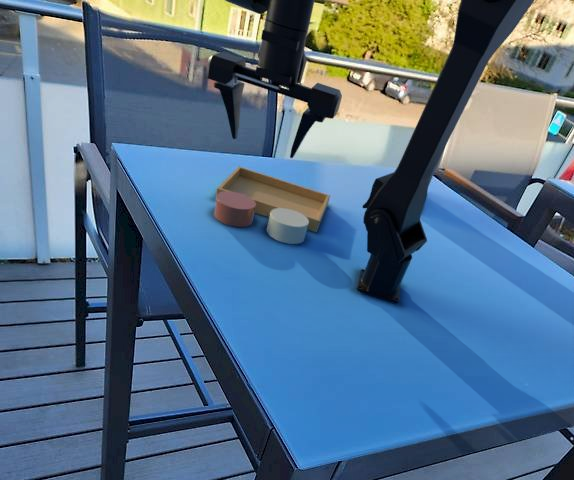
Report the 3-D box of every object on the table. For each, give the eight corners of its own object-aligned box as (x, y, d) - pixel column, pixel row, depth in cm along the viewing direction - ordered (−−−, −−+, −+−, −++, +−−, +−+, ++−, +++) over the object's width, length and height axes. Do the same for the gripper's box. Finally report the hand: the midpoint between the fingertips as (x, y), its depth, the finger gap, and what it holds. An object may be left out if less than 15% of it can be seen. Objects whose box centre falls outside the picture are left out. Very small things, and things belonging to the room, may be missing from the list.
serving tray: (316, 232, 83) (319, 221, 82) (215, 200, 84) (217, 188, 82) (327, 205, 93) (330, 195, 92) (236, 177, 93) (238, 166, 92)
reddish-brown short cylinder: (246, 231, 78) (250, 213, 76) (208, 218, 78) (211, 200, 76) (256, 216, 83) (260, 199, 81) (221, 205, 83) (223, 187, 81)
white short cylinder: (300, 248, 78) (305, 230, 76) (262, 236, 78) (266, 218, 76) (307, 232, 83) (312, 216, 81) (271, 221, 83) (275, 204, 81)
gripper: (360, 41, 70) (329, 153, 80) (237, 1, 70) (222, 118, 81) (351, 49, 62) (317, 173, 72) (211, 3, 62) (198, 133, 72)
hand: (263, 147), depth 74 cm, fingers open, 9 cm apart
